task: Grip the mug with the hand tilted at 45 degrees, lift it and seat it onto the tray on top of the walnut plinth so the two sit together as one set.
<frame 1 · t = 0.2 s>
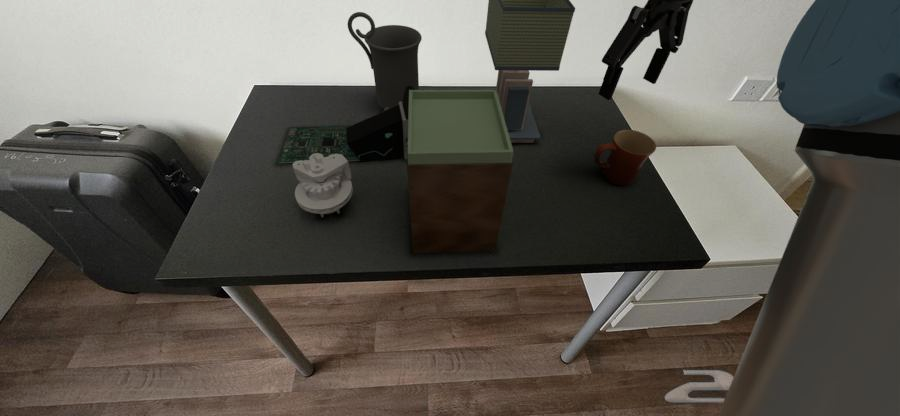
hand: (627, 88, 76), 19 cm above the table, tool pointing down, fingers open, 13 cm apart
mechanical part: (329, 205, 77), on the table
plinth: (451, 217, 76), on the table
mug: (610, 177, 86), on the table
mug 2: (395, 107, 103), on the table
circuit board: (327, 144, 90), on the table, touching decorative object
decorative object: (388, 152, 89), on the table, touching circuit board
desk lamp: (506, 127, 98), on the table
tray: (456, 129, 59), resting on plinth
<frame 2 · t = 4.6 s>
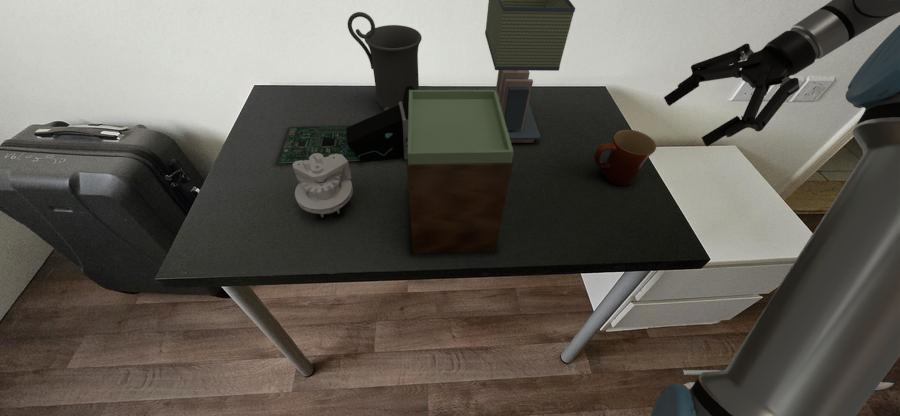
hand: (683, 121, 76), 15 cm above the table, tool tilted 45°, fingers open, 13 cm apart
nothing on the table moved.
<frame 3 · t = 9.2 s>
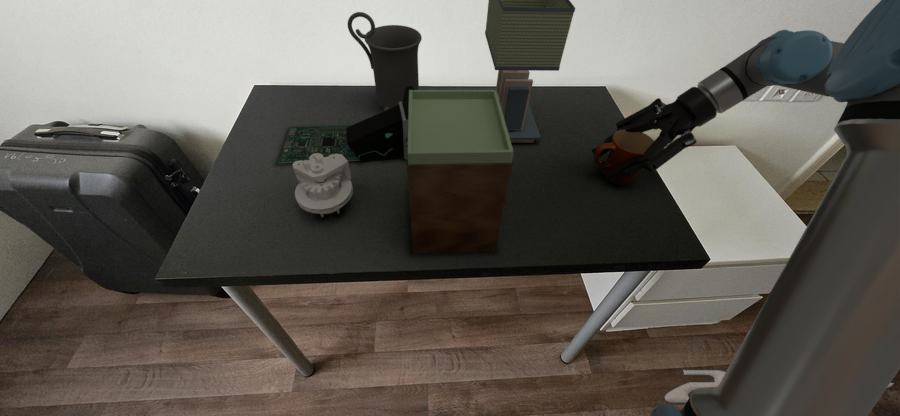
hand: (601, 166, 83), 4 cm above the table, tool tilted 45°, fingers closed on mug, 8 cm apart
mug: (610, 177, 86), on the table, touching gripper
everything else where it was.
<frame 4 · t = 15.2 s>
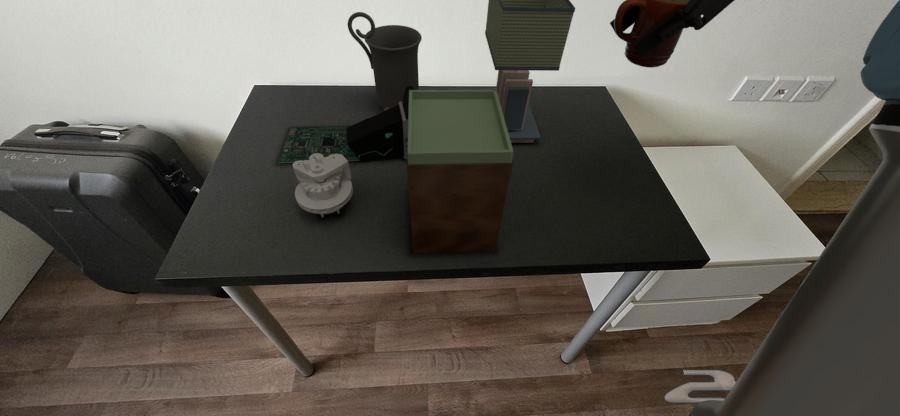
hand: (624, 39, 60), 32 cm above the table, tool tilted 45°, fingers closed on mug, 8 cm apart
mug: (634, 61, 63), point 29 cm above the table, touching gripper
everything else where it was.
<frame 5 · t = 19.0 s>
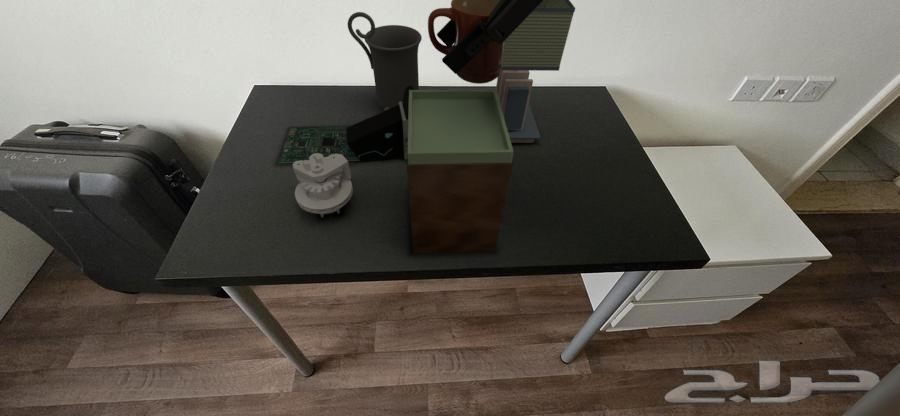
hand: (445, 53, 54), 32 cm above the table, tool tilted 45°, fingers closed on mug, 8 cm apart
mug: (467, 76, 57), point 29 cm above the table, touching gripper
everything else where it was.
when the fingers open (26 cm above the table, at t = 21.7 s): mug moves 4 cm, resting on tray.
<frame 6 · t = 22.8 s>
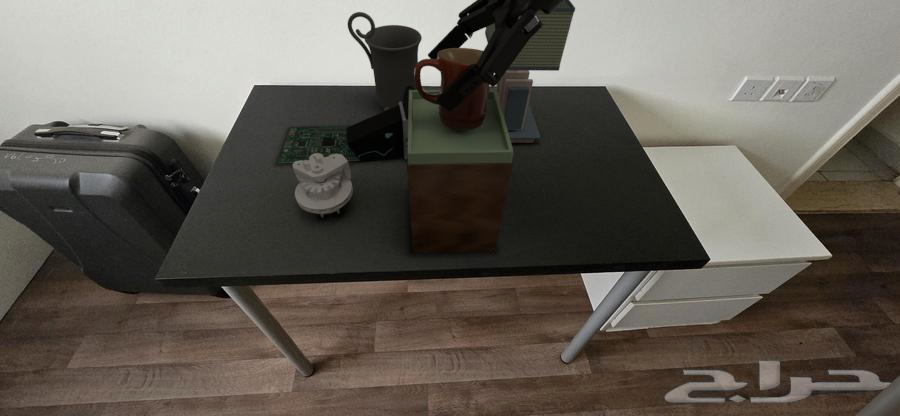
hand: (437, 81, 57), 28 cm above the table, tool tilted 45°, fingers open, 13 cm apart
mug: (451, 124, 58), point 23 cm above the table, touching tray
everything else where it was.
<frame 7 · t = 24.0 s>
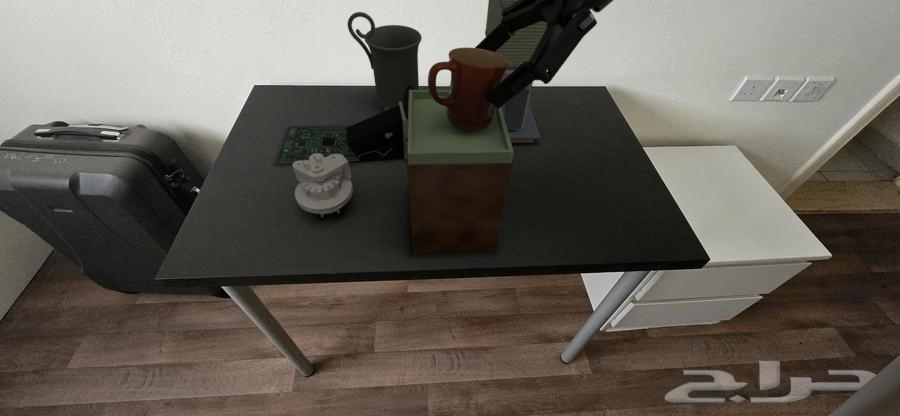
hand: (482, 79, 57), 29 cm above the table, tool tilted 45°, fingers open, 13 cm apart
mug: (459, 125, 58), point 23 cm above the table
everything else where it was.
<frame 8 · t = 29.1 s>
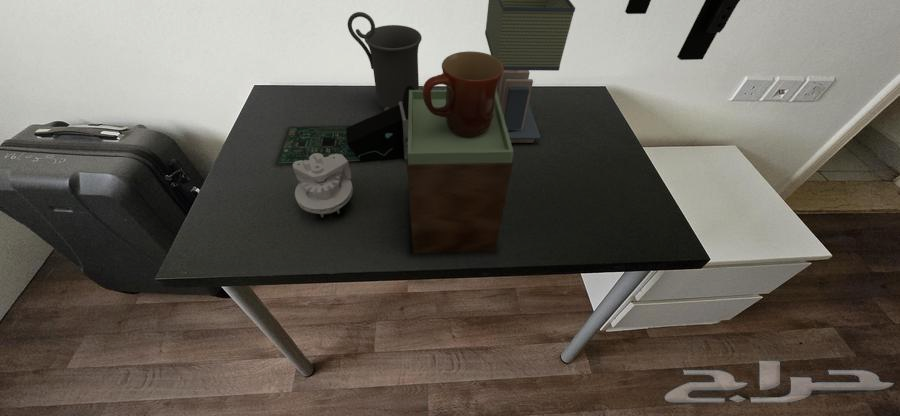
hand: (659, 33, 46), 39 cm above the table, tool pointing down, fingers open, 13 cm apart
mug: (459, 129, 59), point 22 cm above the table, touching tray
everything else where it was.
at the end: mug inside the target area on the tray (0.9 cm from its centre), point 0.4 cm above the tray's base; mug tilted 0°; the gripper is holding nothing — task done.
